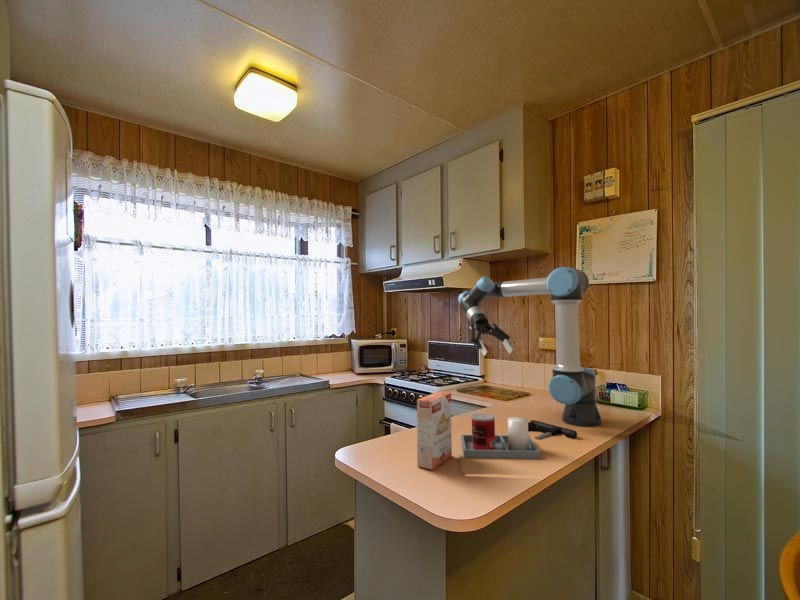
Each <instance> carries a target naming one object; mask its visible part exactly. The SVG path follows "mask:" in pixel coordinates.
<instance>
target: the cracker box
mask: <svg viewBox="0 0 800 600" xmlns="http://www.w3.org/2000/svg"><path fill="white" fill-rule="evenodd" d="M416 429H417V430H416V435H417V436H416V440H417V441H416V443H417V445H416V446H417V449H416V450H417V452H416V453H417V456H416V457H417V467H418V468H421V469H426V470H430V471H434V470H435V469H436V468H438V467H439V466H441V465H442V464H443V463H444V462H446V461H447V460H448V459H449V458H451V457H452V453H453V451H452V450H453V449H452V445H453V444H452V442H453V441H452V437H453V436H452V394H451V393H449V392H440V391H435V392H433V393H430V394H428V395H425V396H422V397H420V398H418V399H416Z"/></svg>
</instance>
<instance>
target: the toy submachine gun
mask: <svg viewBox="0 0 800 600" xmlns="http://www.w3.org/2000/svg"><path fill="white" fill-rule="evenodd" d="M528 430H529V431H528V432H531V431H532V432H533V433H534V432H535V433H542V434H539V435H537V436H535V437H534V439H536V440H542V439H545V438H548V437H551V436H553V437H554V436H557V435H563V436H565V437H567V438H569V437H570V438H569V439H576V438H577V436H578V432H577V431H575V430H574V429H571V428H570V429H569V428H565V427H562V426H557V425H554V424H551V423H547V422H542V421H539V420H534V419H531V420H530V421H528Z"/></svg>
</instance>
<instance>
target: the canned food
mask: <svg viewBox="0 0 800 600" xmlns="http://www.w3.org/2000/svg"><path fill="white" fill-rule="evenodd" d="M471 432H472V433H471V435H472V443H473V449H474V450H495V435H496V423H495V415H492V414H491V413H485V412H484V413H481V412H480V413H474V414H473V415H471Z"/></svg>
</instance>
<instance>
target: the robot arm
mask: <svg viewBox="0 0 800 600" xmlns="http://www.w3.org/2000/svg"><path fill="white" fill-rule="evenodd" d="M589 285H590V281H589V276H588V275H587V274H586V273H585V272H584V271H582V270H580V269H577V268H573V267H570V266H569V267H568V266H562V267H561V266H560V267H557V268H555V269H554V270H552V271H551V272H550V273H549V274H548V276H547V277H541V278H540V277H539V278H538V277H537V278H527V279H520V280H519V279H517V280H508V281H499V282H497V281H496V282H494V281H493V280H492V279H491V278H490V277H487V276H486V275H485V276H482V277H480V279H478V280H477V281H476V283H475V284H474V286H472V287H471V289H470V290H469V291H463V292H461V293H460V294H459V295H458V297H457V301H458V303H459V306H460V307H461V309H462V311H463V312H464V314H465V315H466V317H467V318H468V320H469V322H470V325H469V327H468V329H469V338H470V339H469V342H470V343H471V344H473V345H474V346H476V347H477V349H479V351H480V353H481V354H482V355H483V356H484V357H486V355H487V354H488V352H489V351H488V349H487V348H486V346H485V345H484V343H483V341H482V340H481V339H480V338H481V335H489V336H492V337H494V338H496V339H498V340H499V341H501V342H502V345H503V346H504V348H505V349H506V351H507V353H508V355H512V352H513V351H514V349H513V347H512V345H511V343H510V341H509V340H510V335H509V334H507V333H506V332H505V331H504V330H502V329H501V328H500V327H498V325H497V323H492V324H490V323H489V319H488V318H487V315H486V314H485V313H484V311H483V310H482V308H481V306H480V304H481V303H482V302H483V300H484V299H485V298H489V299H490V298H494V299H501V298H507V297H508V298H509V297H522V296H539V295H550V302H551V303H552V304H553V305H554V308H555V309H554V310H555V311H554V312H555V313H554V315H555V318H554V320H555V354H556V355H555V357H556V358H555V362H556V364H555V365H554V366H553V367H552V378H551V379H550V380H549V382H548V391H549V394H550V396H551V397H552V398H553V399H554V400H555V401H556V402H557V403H559V404H563V405H564V408H563V410H562V414H561V417H562V418H561V420H562V422H563V423H566V424H569V425H571V426H576V427H587V428H588V427H599V426H601V425H602V424H603V423H602V422H603V421H602V416H601V414H600V411H599V408H598V406H597V393H596V392H597V389H596V387H597V386H596V378H597V377H596V372H595V370H594V369H593V368H592V367H591V368H589V367H582V366H581V365H580V364H581V363H580V325H579V324H580V321H579V319H580V318H579V315H580V314H579V305H580V303H582V302H583V295H584V293H585V292H587V290H588V288H589ZM476 331H477V332H476Z"/></svg>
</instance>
